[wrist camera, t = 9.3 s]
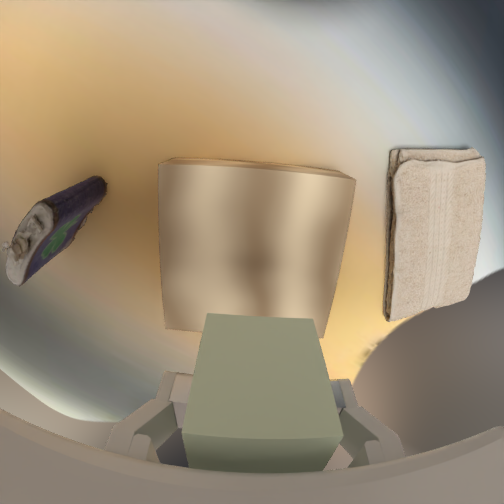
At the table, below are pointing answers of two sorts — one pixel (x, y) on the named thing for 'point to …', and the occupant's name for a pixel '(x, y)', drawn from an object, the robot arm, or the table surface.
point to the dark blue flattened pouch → (51, 228)
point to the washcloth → (431, 228)
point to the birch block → (250, 239)
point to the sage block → (260, 398)
